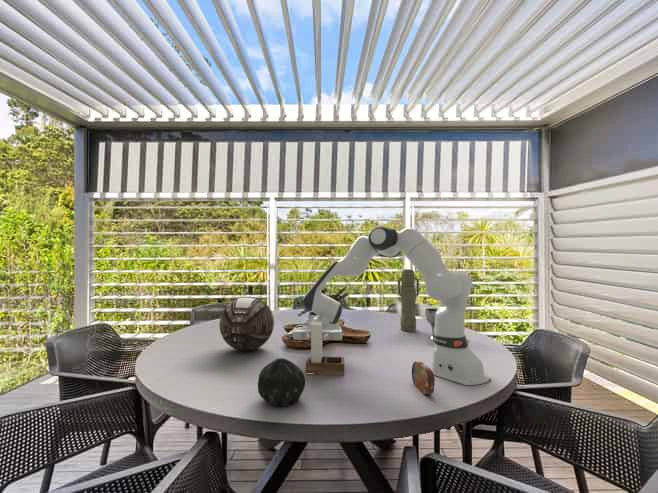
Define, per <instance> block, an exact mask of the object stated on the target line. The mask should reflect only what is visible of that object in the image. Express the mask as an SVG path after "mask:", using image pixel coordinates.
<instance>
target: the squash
mask: <svg viewBox="0 0 658 493" xmlns="http://www.w3.org/2000/svg"><path fill="white" fill-rule="evenodd" d="M259 372H260V373H259V375H258V381H257V391H258V394H259V396H260V397H261V398H262V399H263V401H265V402H267V403H270V404H271V406H272V407H275V406H276V407H278V406H280V405H281V406H282V407H285V406H287V405H289V404H294V402H295V403H297V402H298V401H299V399H300V397H301V395H302V394H303V392H304V391H305V387H306V377H305V375H304V372H303V371H302V369H301V368H300V367H299V365H297V364H296V363H294V362H292V361H290V360H288V359H286V358H282V357H279V358H276V359H274V360H272V361H271V362H269V363H267V364H266V365H265V366H264V367H262V369H261V371H259ZM289 402H290V403H289Z"/></svg>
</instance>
